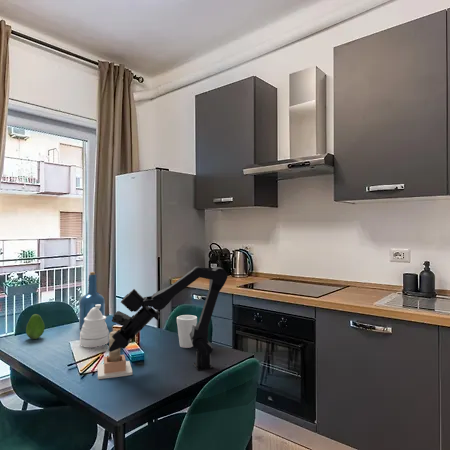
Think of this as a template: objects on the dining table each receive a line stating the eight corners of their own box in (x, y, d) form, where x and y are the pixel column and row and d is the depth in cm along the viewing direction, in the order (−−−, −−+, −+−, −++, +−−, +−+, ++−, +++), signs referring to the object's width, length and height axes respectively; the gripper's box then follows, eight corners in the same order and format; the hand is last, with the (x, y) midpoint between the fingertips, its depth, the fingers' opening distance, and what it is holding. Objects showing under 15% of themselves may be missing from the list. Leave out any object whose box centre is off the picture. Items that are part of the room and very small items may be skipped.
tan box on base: (132, 374, 133) (132, 362, 134) (97, 379, 129) (98, 366, 129) (129, 363, 145) (129, 352, 145) (97, 367, 141) (97, 355, 141)
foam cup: (198, 342, 171) (198, 315, 171) (195, 349, 162) (195, 320, 162) (178, 342, 172) (179, 314, 172) (174, 348, 163) (174, 319, 163)
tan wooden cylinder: (120, 368, 136) (120, 333, 136) (109, 369, 135) (109, 334, 135) (119, 364, 140) (119, 330, 140) (108, 365, 138) (109, 331, 138)
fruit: (35, 341, 171) (35, 316, 171) (22, 340, 174) (22, 315, 174) (48, 337, 179) (48, 312, 179) (35, 335, 181) (35, 311, 181)
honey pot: (114, 340, 174) (114, 303, 174) (96, 348, 162) (96, 308, 162) (92, 337, 179) (92, 301, 179) (73, 345, 166) (73, 306, 167)
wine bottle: (102, 330, 191) (102, 273, 192) (76, 331, 190) (76, 273, 190) (107, 323, 205) (107, 270, 205) (82, 324, 203) (83, 270, 203)
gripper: (131, 299, 147) (104, 327, 147) (118, 310, 128) (86, 341, 128) (151, 319, 147) (123, 346, 146) (140, 332, 128) (109, 363, 128)
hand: (111, 348), depth 137 cm, fingers closed on tan wooden cylinder, 4 cm apart
